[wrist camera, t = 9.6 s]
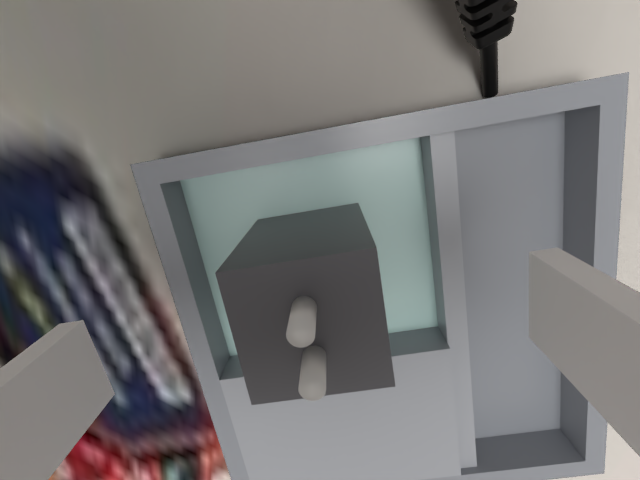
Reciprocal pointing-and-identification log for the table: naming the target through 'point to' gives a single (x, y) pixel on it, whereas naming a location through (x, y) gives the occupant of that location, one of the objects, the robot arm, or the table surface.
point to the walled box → (413, 281)
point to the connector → (308, 306)
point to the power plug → (487, 34)
